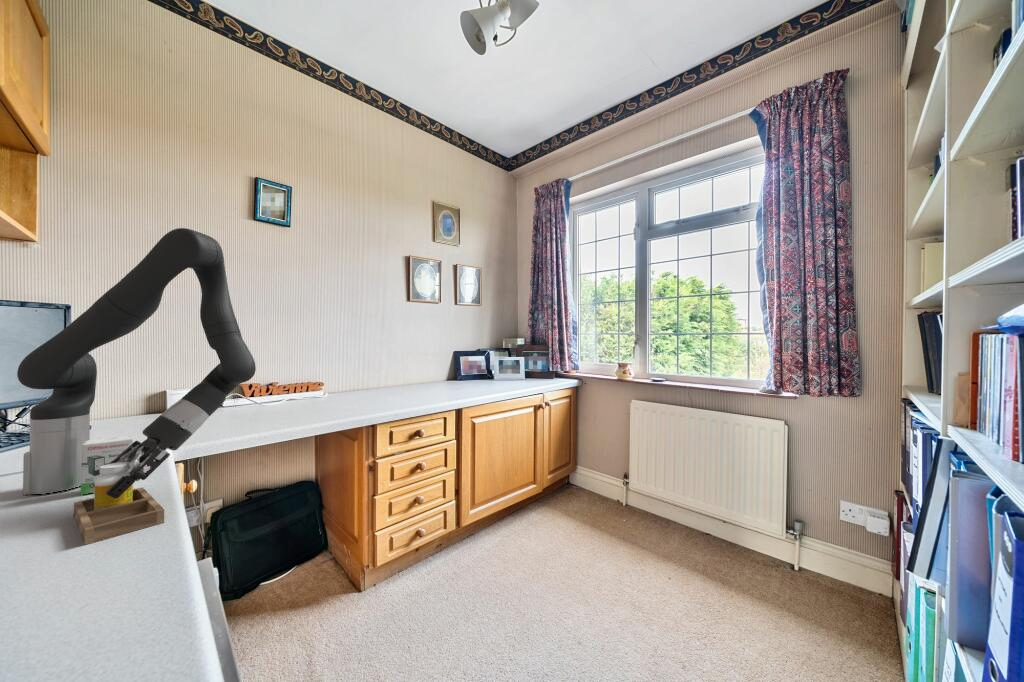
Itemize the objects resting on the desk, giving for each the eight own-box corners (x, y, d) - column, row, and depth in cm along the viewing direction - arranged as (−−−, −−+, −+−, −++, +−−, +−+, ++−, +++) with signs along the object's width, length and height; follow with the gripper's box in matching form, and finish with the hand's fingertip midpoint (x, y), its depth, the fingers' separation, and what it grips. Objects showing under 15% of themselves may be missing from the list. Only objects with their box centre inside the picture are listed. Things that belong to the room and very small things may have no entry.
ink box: (79, 496, 84) (79, 444, 85) (82, 490, 88) (83, 440, 88) (133, 486, 90) (133, 437, 91) (134, 481, 94) (134, 434, 94)
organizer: (73, 514, 75) (73, 502, 75) (142, 498, 83) (142, 487, 83) (85, 544, 63) (85, 530, 63) (164, 522, 71) (164, 509, 71)
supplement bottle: (133, 512, 76) (133, 464, 76) (93, 521, 72) (94, 470, 72) (132, 504, 80) (132, 459, 80) (94, 513, 76) (95, 465, 76)
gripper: (150, 411, 86) (73, 477, 76) (176, 417, 79) (95, 490, 69) (178, 430, 91) (110, 494, 81) (206, 436, 84) (134, 508, 74)
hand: (103, 492), depth 75 cm, fingers open, 7 cm apart
